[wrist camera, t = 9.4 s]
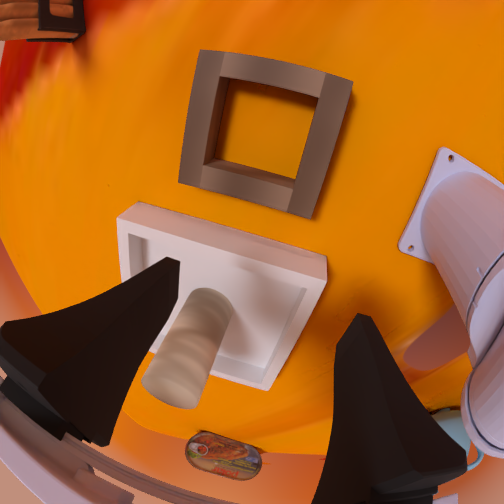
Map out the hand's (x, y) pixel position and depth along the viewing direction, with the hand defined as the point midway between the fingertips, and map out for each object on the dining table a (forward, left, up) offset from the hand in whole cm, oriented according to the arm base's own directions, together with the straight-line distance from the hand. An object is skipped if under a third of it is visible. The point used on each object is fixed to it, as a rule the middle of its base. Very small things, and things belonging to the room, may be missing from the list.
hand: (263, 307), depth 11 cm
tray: (+4, +10, -9) cm, 14 cm away
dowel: (+4, +10, -8) cm, 13 cm away
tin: (-3, +48, -10) cm, 49 cm away
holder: (+3, -5, -9) cm, 11 cm away
